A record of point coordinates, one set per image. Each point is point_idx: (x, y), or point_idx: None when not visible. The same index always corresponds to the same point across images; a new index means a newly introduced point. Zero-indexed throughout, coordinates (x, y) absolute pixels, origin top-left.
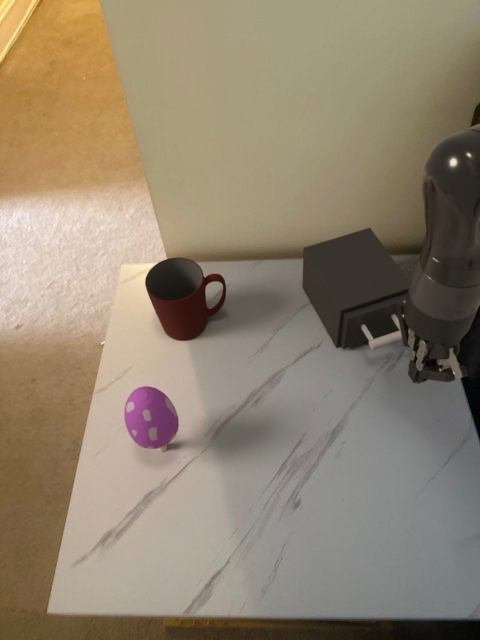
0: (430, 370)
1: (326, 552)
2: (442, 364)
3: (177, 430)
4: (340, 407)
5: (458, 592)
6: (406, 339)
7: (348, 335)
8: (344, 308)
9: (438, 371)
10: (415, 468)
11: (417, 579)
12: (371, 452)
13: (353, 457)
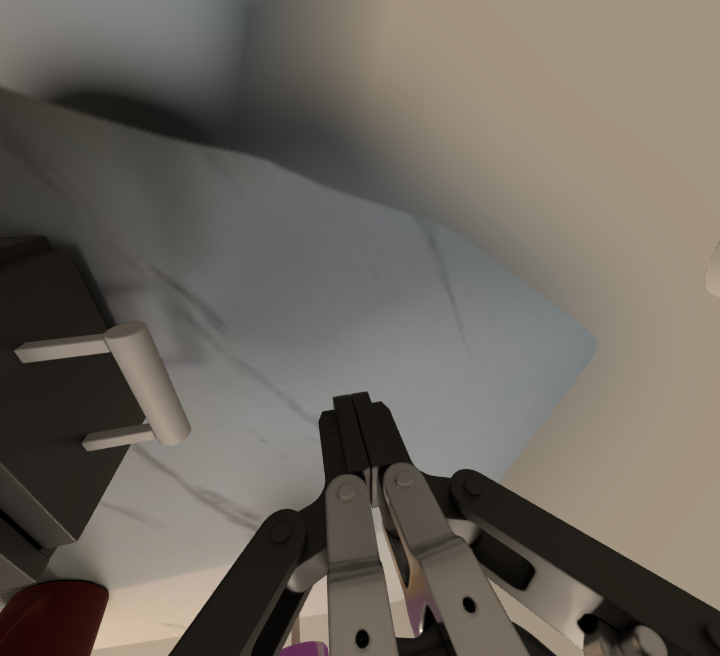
0: (491, 578)
1: (469, 459)
2: (469, 511)
3: (310, 645)
4: (291, 423)
5: (582, 350)
6: (298, 614)
7: (121, 449)
8: (23, 575)
9: (575, 643)
10: (436, 346)
11: (544, 386)
12: (385, 397)
13: None
